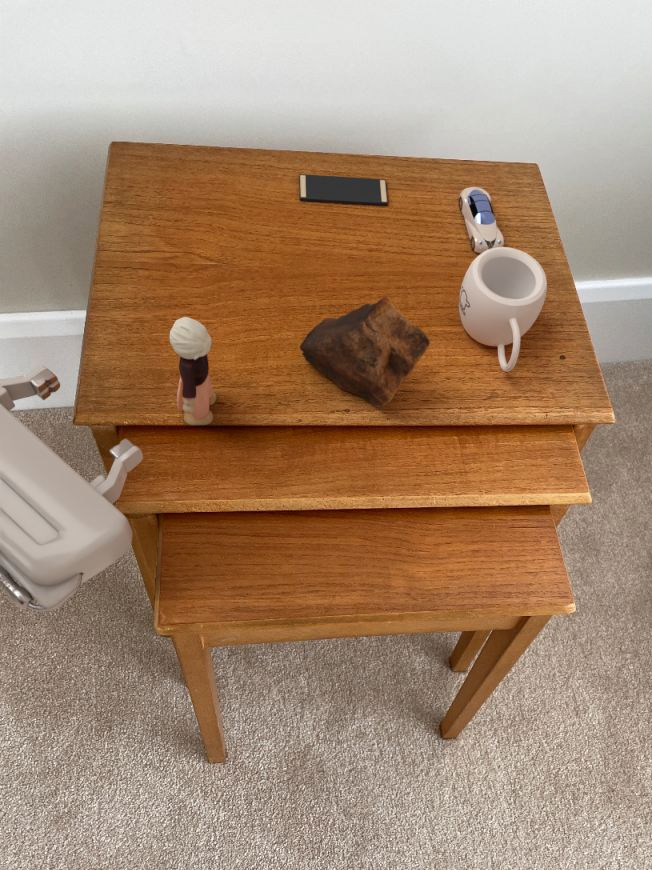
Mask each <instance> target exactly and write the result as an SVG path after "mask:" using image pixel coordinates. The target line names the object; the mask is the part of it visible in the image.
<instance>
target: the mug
mask: <svg viewBox="0 0 652 870" xmlns="http://www.w3.org/2000/svg"><path fill="white" fill-rule="evenodd" d="M488 249H489V250H486V251H484V252H483V253H479V255H477V256H476V257H475V258H474V259H473V261H472V262H471V263H470V265H469V267H468V268H467V270H466V272H465V274H464V277H463V280H462V282H461V287H460V291H459V297H458V312H459V318H460V321H461V325H462V327H463V329H464V330H465V332H466V333H467V335H469V336H470V337H471V338H472V339H473V340H475V341H476V342H477V343H480V344H482V345H484V346H489V347H497V357H498V362H499V366H500V368H501V370H502V371H503V372H505V373H509V372H511V371H513V370H514V368H515V367H516V364H517V361H518V358H519V354H520V349H521V337H522V336H524V335H525V334H526V333H527V332H528V331H529V330H530V329H531V327H532V326H533V325H534V324H535V322H536V321H537V319H538V317H539V315H540V313H541V310H542V309H543V306H544V303H545V301H546V297H547V291H548V283H547V276H546V273H545V270H544V268H543V267H542V265H541V264H540V263H539V261H538V260H536V259H535V258H534V257H533V256H532V255H530V254H529V253H527V252H525V251H523V250H520V249H517V248H514V247H509V246H503V247H496V248H492V247H490V248H488ZM510 344H512V348H511V349H512V350H511V355H510V358H509V360H508V362H507V360H506V353H505V352H506V351H505V346H508V345H510Z"/></svg>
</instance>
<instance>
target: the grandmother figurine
mask: <svg viewBox="0 0 652 870" xmlns="http://www.w3.org/2000/svg"><path fill="white" fill-rule="evenodd" d="M211 337H212V336H211V335H210V334H209V332H208V330H207V328H206V326H205V325H203V324H202V323H201V322H200V321H198V320H196V319H193V318H191V317H189V316H183V317H181V318H178V319H176V320H175V322H174V323H173V325H172V327H171V329H170V331H169V343H170V345H171V346H172V350H173V351H174V352H175V353H176V354H177V355H178V356H179V363H178V370H179V375H180V377H179V381H178V387H177V393H176V407H177V409H178V410H179V411H183V421H184V423H185V424H186V425H189V426H208V425H210V424H212V422H213V419H214V414H213V412H212V411H211V410H210V406H212V405H214V404H215V402H216V400H217V399H218V398H217V397H218V396H217V393H215V392H214V389H213V384H212V380H211V376H210V373H209V369H210V366H209V357H208V354H209V353H210V351H211V350H212V344H213V343H212V341H213V340H212V338H211Z"/></svg>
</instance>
